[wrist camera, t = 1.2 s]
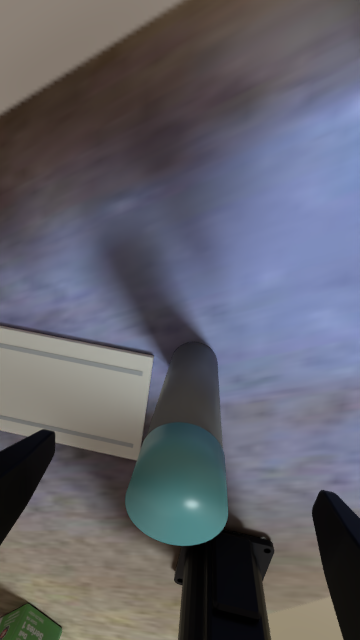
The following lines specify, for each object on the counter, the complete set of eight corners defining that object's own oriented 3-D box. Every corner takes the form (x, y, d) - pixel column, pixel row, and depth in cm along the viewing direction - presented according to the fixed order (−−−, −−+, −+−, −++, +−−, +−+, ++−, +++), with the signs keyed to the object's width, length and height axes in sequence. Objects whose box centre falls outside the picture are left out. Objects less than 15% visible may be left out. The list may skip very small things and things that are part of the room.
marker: (213, 388, 16) (216, 555, 8) (167, 379, 16) (120, 532, 8) (222, 346, 15) (238, 481, 7) (174, 337, 15) (130, 457, 7)
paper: (139, 457, 18) (138, 461, 18) (-8, 425, 19) (-11, 428, 19) (154, 355, 16) (152, 358, 16) (-15, 322, 17) (-20, 324, 16)
